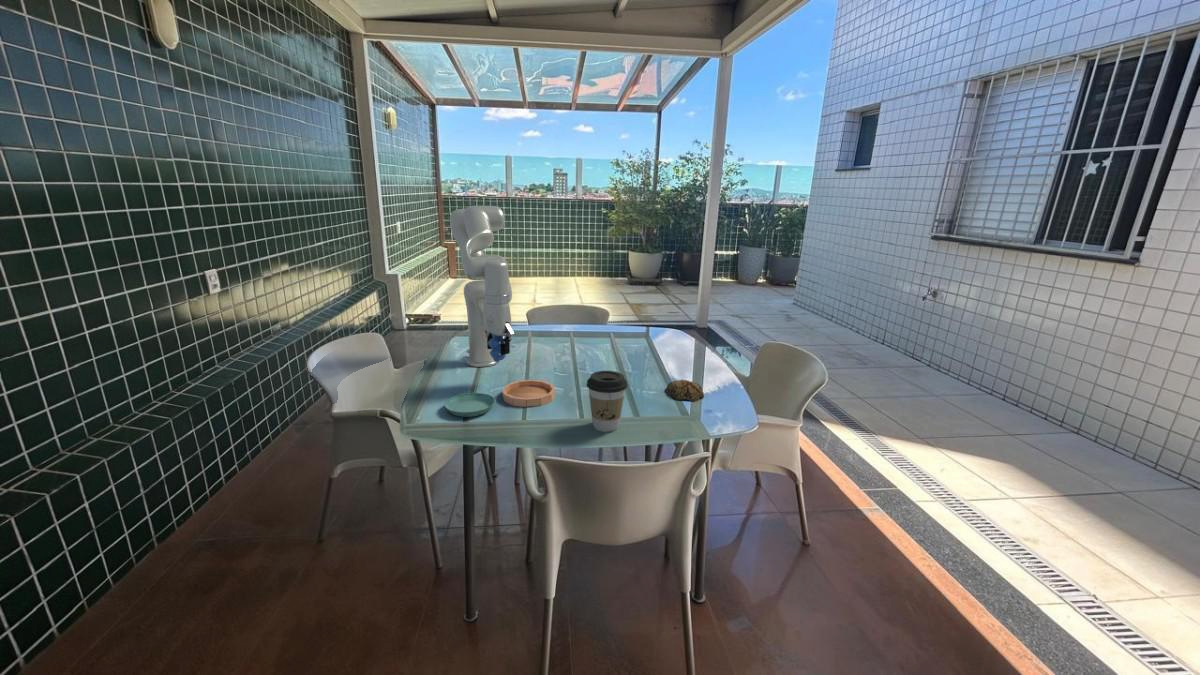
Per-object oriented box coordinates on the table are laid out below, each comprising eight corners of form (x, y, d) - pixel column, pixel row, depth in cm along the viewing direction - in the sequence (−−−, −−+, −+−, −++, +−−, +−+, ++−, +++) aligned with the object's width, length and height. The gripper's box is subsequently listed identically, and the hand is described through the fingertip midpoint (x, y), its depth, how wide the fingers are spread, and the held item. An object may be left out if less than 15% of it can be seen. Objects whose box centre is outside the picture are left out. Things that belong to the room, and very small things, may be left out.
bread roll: (664, 387, 167) (665, 373, 166) (700, 388, 167) (701, 374, 166) (669, 402, 155) (670, 387, 153) (708, 402, 155) (709, 388, 154)
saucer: (505, 405, 149) (505, 397, 148) (475, 424, 136) (474, 416, 135) (466, 397, 155) (466, 389, 154) (434, 414, 142) (433, 406, 141)
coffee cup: (586, 435, 131) (587, 383, 127) (585, 417, 142) (586, 369, 138) (628, 435, 131) (630, 383, 127) (624, 417, 142) (625, 369, 138)
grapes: (496, 353, 169) (494, 320, 165) (514, 354, 167) (512, 321, 164) (481, 365, 158) (477, 330, 155) (500, 366, 157) (497, 331, 153)
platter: (492, 396, 155) (492, 388, 155) (532, 383, 167) (532, 376, 166) (525, 411, 145) (525, 403, 144) (565, 396, 156) (565, 389, 156)
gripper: (471, 295, 159) (474, 347, 165) (503, 305, 148) (505, 360, 154) (490, 292, 164) (492, 342, 170) (523, 302, 153) (523, 355, 159)
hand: (498, 350), depth 162 cm, fingers closed on grapes, 6 cm apart
